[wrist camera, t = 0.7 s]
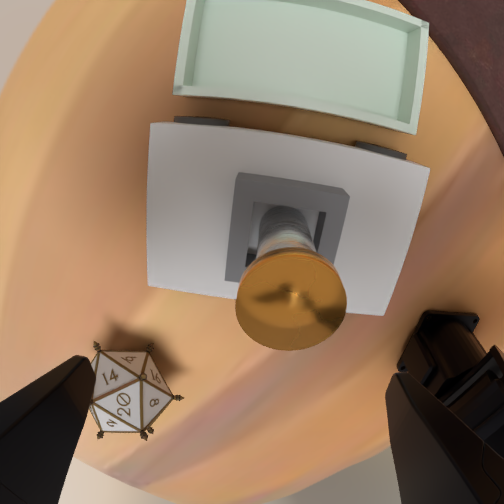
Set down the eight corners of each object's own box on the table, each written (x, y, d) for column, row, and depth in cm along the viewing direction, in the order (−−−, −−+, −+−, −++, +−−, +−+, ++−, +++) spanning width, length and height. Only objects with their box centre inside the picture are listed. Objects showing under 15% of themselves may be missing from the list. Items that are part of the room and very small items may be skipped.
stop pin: (323, 201, 15) (360, 267, 9) (309, 263, 16) (330, 354, 10) (253, 190, 15) (242, 251, 9) (244, 254, 16) (230, 343, 10)
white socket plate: (402, 151, 17) (445, 168, 12) (365, 286, 21) (388, 335, 16) (174, 115, 17) (139, 118, 12) (167, 259, 21) (139, 304, 16)
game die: (134, 321, 28) (58, 321, 19) (209, 360, 26) (145, 382, 16) (112, 397, 28) (41, 416, 18) (180, 440, 25) (117, 482, 16)
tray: (411, 31, 14) (429, 23, 11) (398, 131, 17) (415, 135, 14) (200, -7, 14) (191, -22, 11) (184, 96, 17) (172, 94, 14)
